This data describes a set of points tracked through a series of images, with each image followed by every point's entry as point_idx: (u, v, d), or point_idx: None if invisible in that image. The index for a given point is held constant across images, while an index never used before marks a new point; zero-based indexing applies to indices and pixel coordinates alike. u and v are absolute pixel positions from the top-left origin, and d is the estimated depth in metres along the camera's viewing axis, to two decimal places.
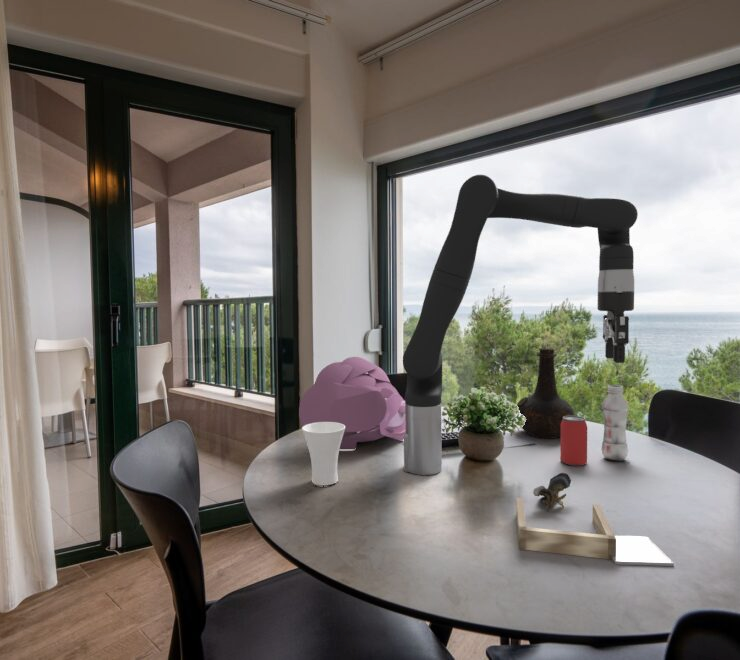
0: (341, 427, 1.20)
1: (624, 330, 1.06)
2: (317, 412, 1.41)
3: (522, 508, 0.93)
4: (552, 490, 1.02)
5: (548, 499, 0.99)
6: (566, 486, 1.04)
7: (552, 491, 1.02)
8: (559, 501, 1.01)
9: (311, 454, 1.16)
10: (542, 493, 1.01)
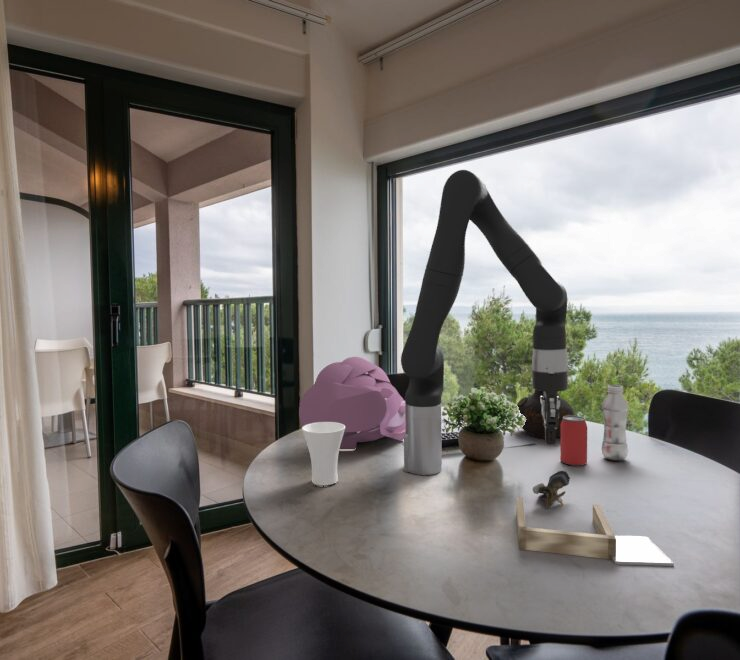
0: (341, 427, 1.20)
1: (554, 420, 1.07)
2: (317, 412, 1.41)
3: (522, 508, 0.93)
4: (551, 488, 1.03)
5: (547, 496, 1.01)
6: (565, 484, 1.06)
7: (551, 489, 1.03)
8: (558, 498, 1.03)
9: (311, 454, 1.16)
10: (541, 491, 1.03)
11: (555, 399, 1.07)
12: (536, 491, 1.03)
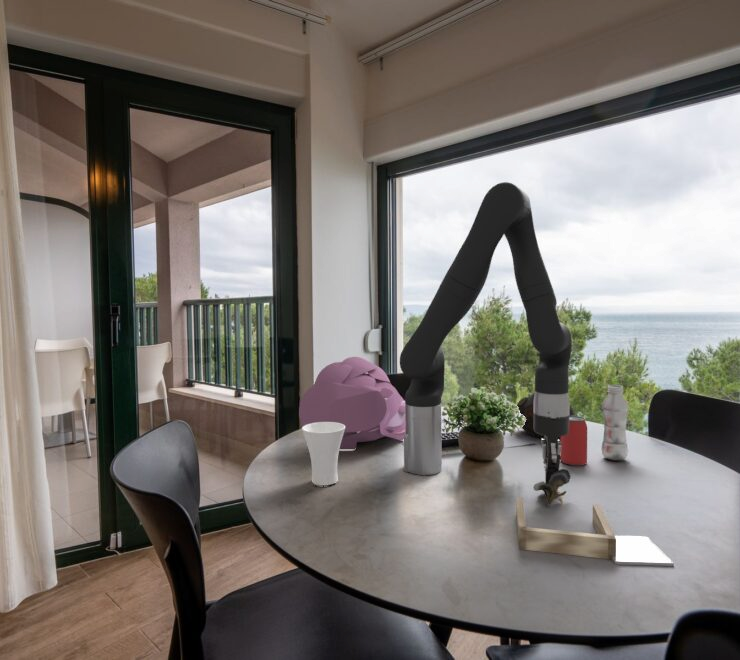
0: (341, 427, 1.20)
1: (555, 466, 1.05)
2: (317, 411, 1.41)
3: (522, 508, 0.93)
4: (552, 486, 1.04)
5: (548, 495, 1.01)
6: (565, 482, 1.06)
7: (552, 487, 1.03)
8: (558, 496, 1.03)
9: (311, 454, 1.16)
10: (542, 488, 1.03)
11: (556, 444, 1.05)
12: (537, 488, 1.03)
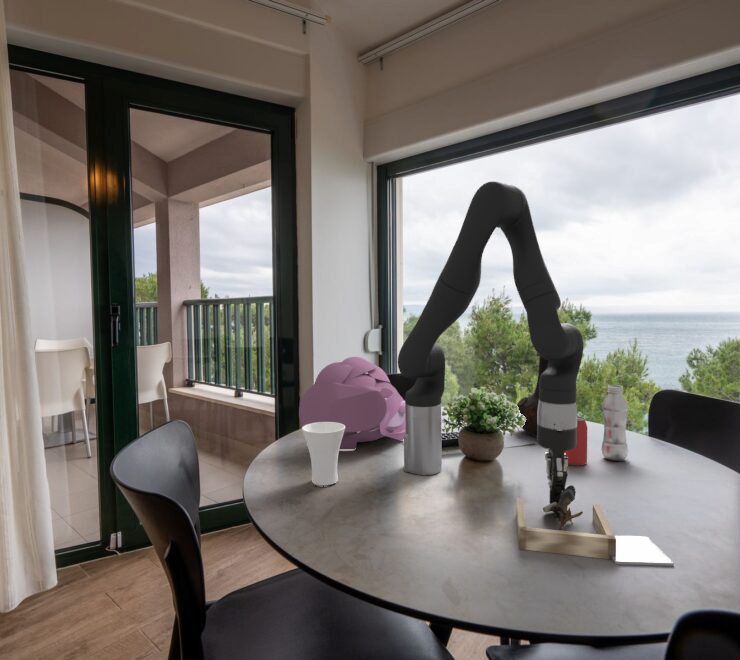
0: (341, 427, 1.20)
1: (561, 484, 0.94)
2: (317, 412, 1.41)
3: (522, 508, 0.93)
4: (562, 505, 0.94)
5: (561, 517, 0.91)
6: (572, 499, 0.97)
7: (562, 507, 0.93)
8: None
9: (311, 454, 1.16)
10: (553, 509, 0.93)
11: (563, 460, 0.94)
12: (547, 510, 0.93)
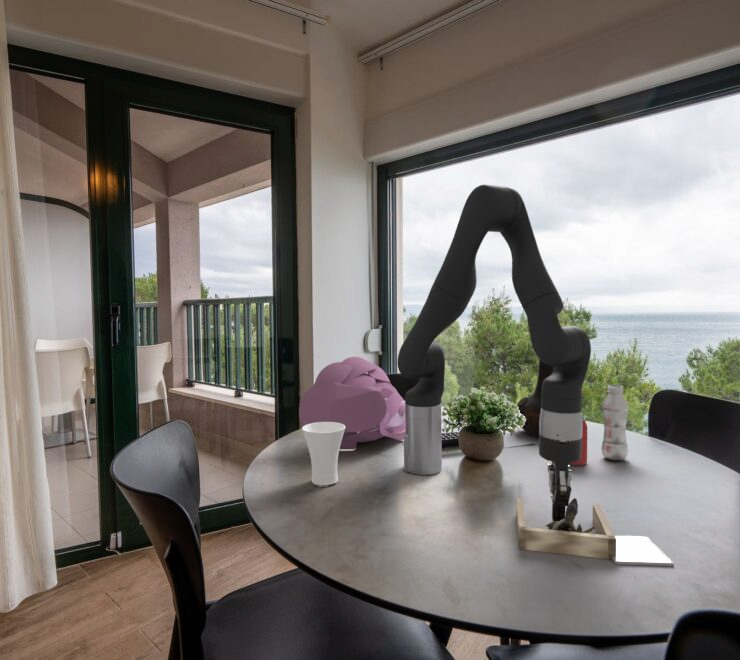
0: (341, 427, 1.20)
1: (564, 499, 0.88)
2: (317, 412, 1.41)
3: (522, 508, 0.93)
4: (569, 521, 0.87)
5: None
6: (576, 513, 0.91)
7: (570, 523, 0.87)
8: None
9: (311, 454, 1.16)
10: (561, 527, 0.86)
11: (566, 473, 0.88)
12: (556, 528, 0.86)
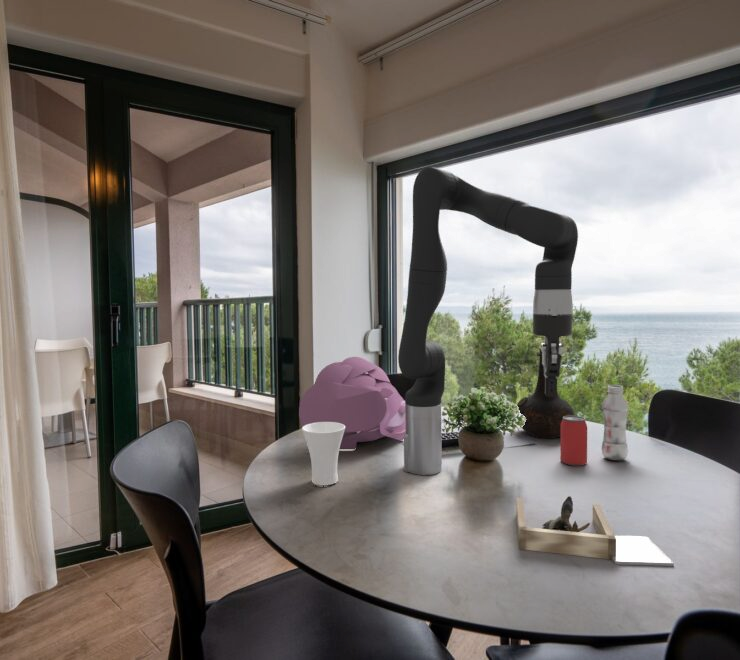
0: (341, 427, 1.20)
1: (555, 368, 0.96)
2: (317, 411, 1.41)
3: (522, 508, 0.93)
4: (565, 519, 0.88)
5: None
6: (571, 511, 0.92)
7: (566, 520, 0.88)
8: None
9: (311, 454, 1.16)
10: (557, 525, 0.87)
11: (557, 344, 0.96)
12: (552, 526, 0.87)
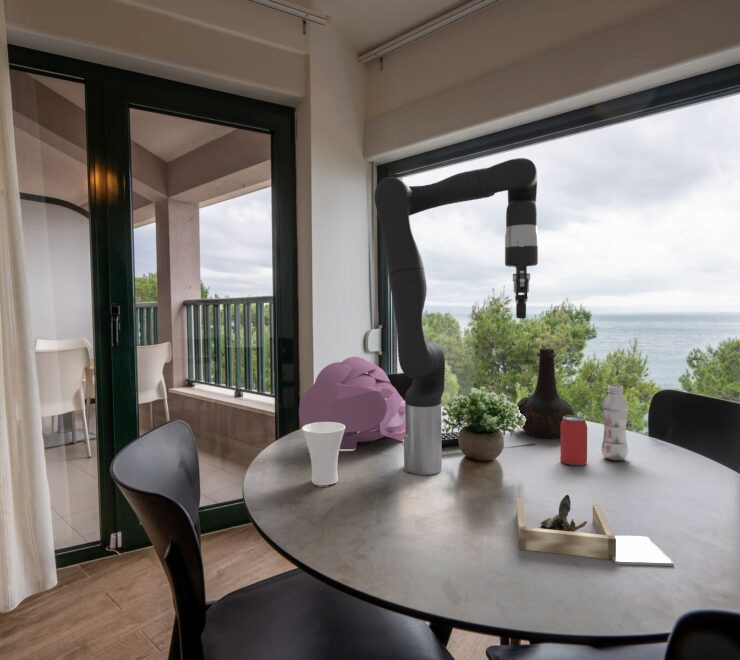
0: (341, 427, 1.20)
1: (523, 291, 1.13)
2: (317, 412, 1.41)
3: (522, 508, 0.93)
4: (563, 517, 0.89)
5: (566, 530, 0.86)
6: (569, 509, 0.93)
7: (563, 519, 0.89)
8: None
9: (311, 454, 1.16)
10: (555, 523, 0.88)
11: (525, 271, 1.13)
12: (550, 524, 0.87)
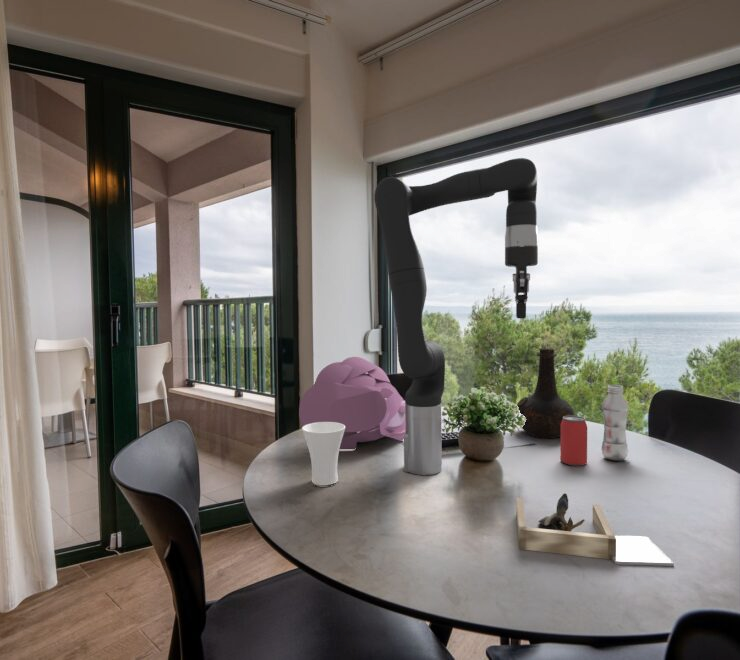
0: (341, 427, 1.20)
1: (523, 291, 1.13)
2: (317, 412, 1.41)
3: (522, 508, 0.93)
4: (560, 516, 0.90)
5: (563, 528, 0.87)
6: (566, 508, 0.93)
7: (561, 517, 0.89)
8: None
9: (311, 454, 1.16)
10: (553, 521, 0.88)
11: (525, 271, 1.13)
12: (547, 523, 0.88)
